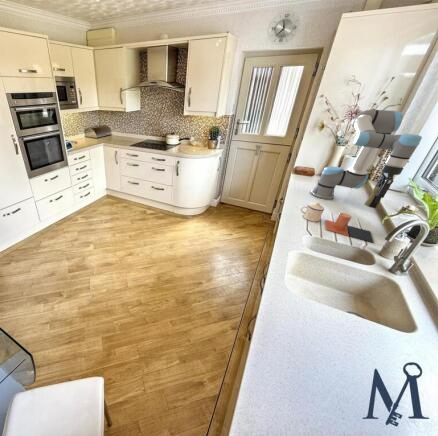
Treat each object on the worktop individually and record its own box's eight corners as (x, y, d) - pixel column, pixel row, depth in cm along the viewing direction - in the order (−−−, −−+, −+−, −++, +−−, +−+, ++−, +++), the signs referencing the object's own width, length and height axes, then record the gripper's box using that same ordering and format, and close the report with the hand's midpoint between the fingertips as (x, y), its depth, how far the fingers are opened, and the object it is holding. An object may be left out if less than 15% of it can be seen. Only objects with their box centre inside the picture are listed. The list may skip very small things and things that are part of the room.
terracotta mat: (325, 220, 152) (326, 219, 152) (346, 226, 147) (346, 225, 147) (326, 230, 142) (326, 229, 142) (348, 236, 137) (348, 235, 137)
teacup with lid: (318, 217, 156) (326, 202, 150) (319, 223, 149) (327, 207, 143) (298, 212, 161) (304, 197, 155) (297, 218, 154) (304, 202, 148)
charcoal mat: (347, 226, 147) (347, 225, 147) (369, 232, 142) (369, 231, 142) (349, 236, 137) (349, 235, 137) (373, 243, 132) (373, 242, 132)
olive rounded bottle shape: (380, 208, 130) (391, 190, 124) (367, 207, 130) (378, 189, 125) (373, 203, 135) (383, 186, 129) (361, 202, 136) (371, 185, 130)
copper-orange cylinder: (332, 224, 148) (339, 211, 143) (344, 227, 145) (351, 214, 140) (333, 228, 143) (339, 215, 139) (345, 231, 140) (352, 218, 136)
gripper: (409, 171, 112) (382, 213, 124) (399, 162, 126) (376, 201, 138) (388, 168, 116) (364, 209, 127) (381, 160, 129) (360, 197, 141)
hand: (371, 205), depth 132 cm, fingers closed on olive rounded bottle shape, 6 cm apart
